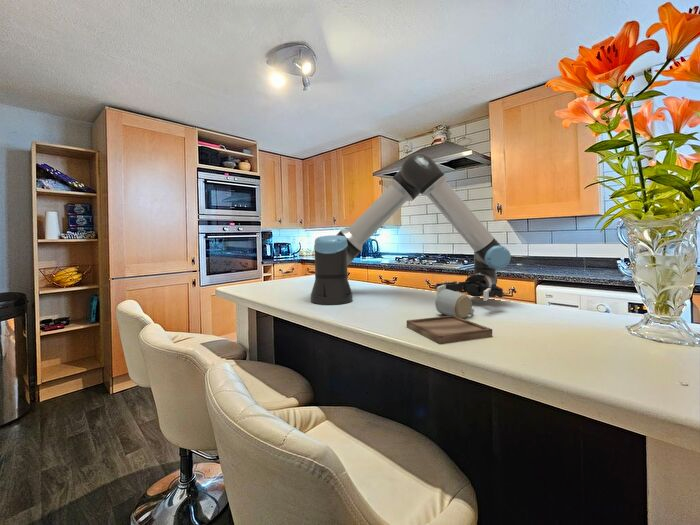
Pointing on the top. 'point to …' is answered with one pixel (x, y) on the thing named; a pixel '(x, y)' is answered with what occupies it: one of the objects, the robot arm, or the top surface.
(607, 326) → the top surface
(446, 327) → the walnut board
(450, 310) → the ceramic mug
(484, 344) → the top surface
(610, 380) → the top surface
